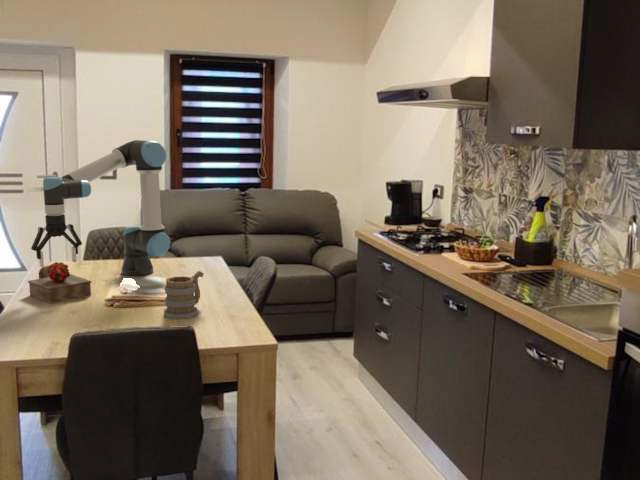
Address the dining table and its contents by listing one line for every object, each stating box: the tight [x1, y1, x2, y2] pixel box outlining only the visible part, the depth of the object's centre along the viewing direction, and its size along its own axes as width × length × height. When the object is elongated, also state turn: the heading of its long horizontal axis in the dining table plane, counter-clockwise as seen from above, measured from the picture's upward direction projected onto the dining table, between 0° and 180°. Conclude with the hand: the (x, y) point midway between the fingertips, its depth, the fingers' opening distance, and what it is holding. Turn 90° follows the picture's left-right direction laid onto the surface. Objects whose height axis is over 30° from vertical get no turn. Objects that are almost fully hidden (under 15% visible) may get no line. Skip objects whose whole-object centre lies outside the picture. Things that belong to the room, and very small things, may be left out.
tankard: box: [163, 270, 204, 320], centre depth 255 cm, size 20×13×15 cm, turn 148°
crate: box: [27, 273, 92, 305], centre depth 277 cm, size 19×19×7 cm
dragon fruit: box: [47, 261, 71, 282], centre depth 276 cm, size 8×8×12 cm
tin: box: [38, 263, 54, 279], centre depth 299 cm, size 15×3×8 cm, turn 168°
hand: (58, 264), depth 276 cm, fingers open, 13 cm apart
